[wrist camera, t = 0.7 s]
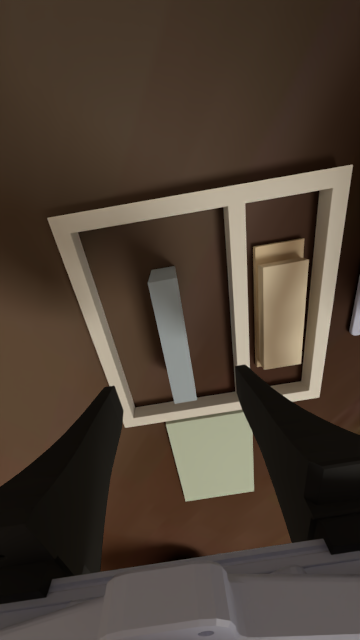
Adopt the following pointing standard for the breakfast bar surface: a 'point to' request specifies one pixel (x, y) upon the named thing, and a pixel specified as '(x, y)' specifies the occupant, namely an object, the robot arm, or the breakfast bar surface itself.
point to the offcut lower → (269, 255)
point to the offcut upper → (281, 311)
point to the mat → (213, 454)
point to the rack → (233, 200)
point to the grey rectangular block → (172, 332)
